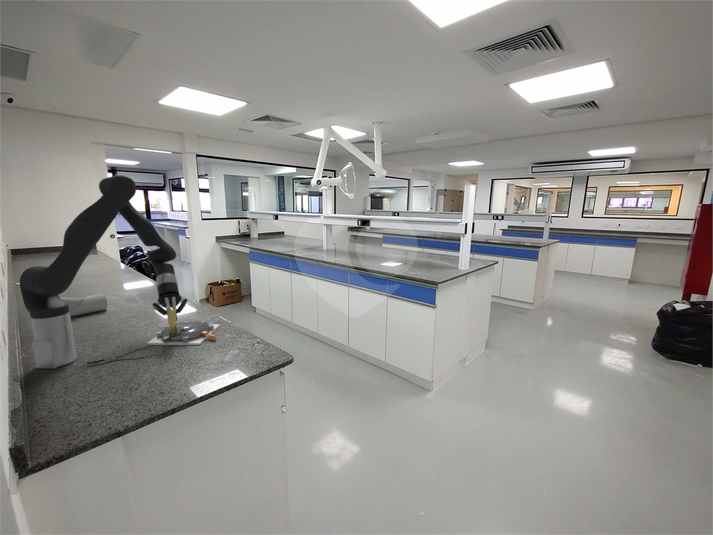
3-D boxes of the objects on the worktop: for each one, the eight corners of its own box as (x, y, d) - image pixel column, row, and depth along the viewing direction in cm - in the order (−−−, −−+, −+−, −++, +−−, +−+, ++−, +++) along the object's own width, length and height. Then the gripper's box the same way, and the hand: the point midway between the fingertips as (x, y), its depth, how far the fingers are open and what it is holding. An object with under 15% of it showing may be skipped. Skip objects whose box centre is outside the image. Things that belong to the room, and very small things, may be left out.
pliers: (161, 352, 112) (90, 372, 97) (161, 354, 113) (91, 375, 97) (152, 344, 119) (85, 362, 103) (152, 346, 119) (85, 364, 104)
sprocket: (224, 326, 136) (222, 299, 134) (185, 346, 116) (183, 315, 114) (186, 320, 142) (184, 294, 140) (144, 338, 122) (140, 308, 120)
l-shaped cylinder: (56, 320, 138) (109, 309, 154) (50, 297, 137) (105, 289, 153) (46, 320, 148) (97, 310, 164) (41, 299, 147) (93, 290, 163)
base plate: (210, 345, 120) (209, 340, 120) (147, 344, 119) (146, 339, 119) (229, 326, 140) (228, 322, 139) (175, 325, 139) (174, 321, 138)
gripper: (148, 283, 123) (153, 321, 116) (185, 279, 131) (192, 315, 124) (148, 292, 128) (154, 329, 121) (184, 288, 136) (191, 323, 129)
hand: (173, 322), depth 122 cm, fingers closed
